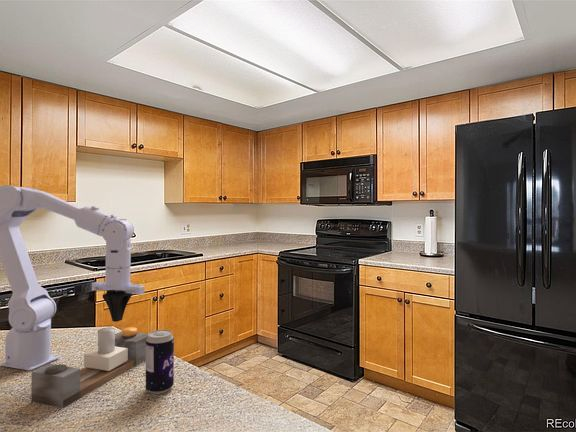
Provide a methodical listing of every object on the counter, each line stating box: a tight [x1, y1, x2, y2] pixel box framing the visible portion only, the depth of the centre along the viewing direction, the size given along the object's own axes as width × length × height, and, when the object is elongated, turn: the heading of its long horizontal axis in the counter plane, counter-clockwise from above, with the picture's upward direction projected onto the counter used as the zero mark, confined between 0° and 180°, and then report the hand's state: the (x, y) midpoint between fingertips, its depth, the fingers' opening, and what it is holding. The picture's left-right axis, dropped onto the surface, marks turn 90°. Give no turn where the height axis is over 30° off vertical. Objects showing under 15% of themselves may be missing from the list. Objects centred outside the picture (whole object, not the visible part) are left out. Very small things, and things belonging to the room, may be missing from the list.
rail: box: [30, 330, 149, 409], centre depth 83 cm, size 9×26×6 cm, turn 164°
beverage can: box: [145, 329, 175, 395], centre depth 77 cm, size 6×6×12 cm
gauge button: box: [121, 326, 138, 338], centre depth 93 cm, size 4×4×3 cm
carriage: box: [83, 327, 128, 371], centre depth 85 cm, size 7×6×8 cm
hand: (117, 320), depth 92 cm, fingers closed
